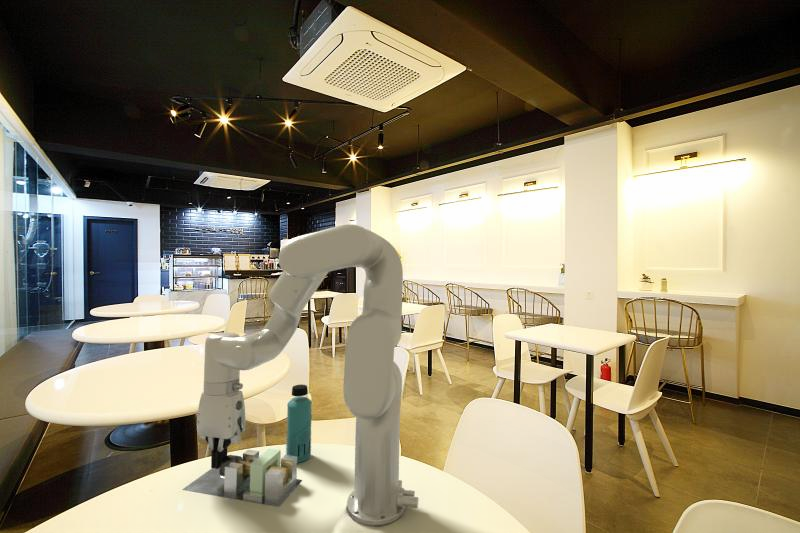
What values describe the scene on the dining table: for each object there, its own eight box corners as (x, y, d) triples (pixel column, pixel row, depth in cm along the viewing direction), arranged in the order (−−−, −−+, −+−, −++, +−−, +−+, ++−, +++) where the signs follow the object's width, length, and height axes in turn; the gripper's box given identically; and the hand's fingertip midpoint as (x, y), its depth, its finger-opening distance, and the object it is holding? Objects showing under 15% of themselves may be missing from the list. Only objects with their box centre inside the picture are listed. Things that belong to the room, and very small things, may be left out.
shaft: (290, 480, 81) (290, 459, 81) (278, 492, 77) (279, 470, 77) (233, 471, 85) (234, 450, 85) (219, 482, 80) (219, 461, 80)
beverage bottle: (295, 471, 89) (297, 391, 89) (280, 463, 93) (281, 386, 93) (316, 461, 94) (318, 385, 95) (300, 453, 98) (302, 380, 99)
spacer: (279, 480, 83) (280, 450, 83) (261, 498, 76) (262, 465, 76) (268, 478, 84) (269, 448, 84) (249, 496, 77) (250, 463, 77)
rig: (302, 485, 83) (303, 455, 84) (278, 512, 74) (279, 478, 74) (214, 470, 89) (215, 442, 89) (182, 494, 79) (183, 463, 79)
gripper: (259, 384, 85) (257, 461, 85) (206, 379, 89) (203, 453, 88) (238, 394, 78) (236, 479, 77) (182, 388, 81) (178, 469, 81)
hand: (219, 465), depth 83 cm, fingers closed
